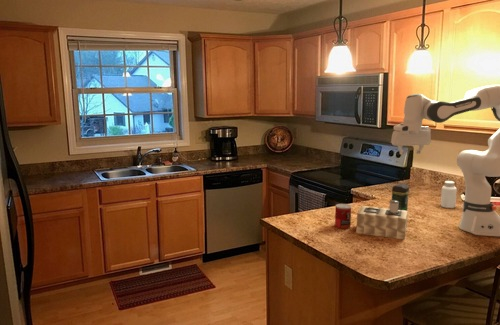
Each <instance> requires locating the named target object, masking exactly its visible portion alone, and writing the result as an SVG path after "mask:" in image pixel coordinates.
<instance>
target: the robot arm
mask: <svg viewBox="0 0 500 325" xmlns="http://www.w3.org/2000/svg"><path fill="white" fill-rule="evenodd" d="M490 108H491V112H492V115H493V116H494V117H495V119H496V120H497V121H499V122H500V84H491V85H485V86H484V85H483V86H481V87H477V88H473V89H471V90H468V91H466V93H465V95H464V98H463V99H458V100H455V101H451V102H447V101H438V100H437V101H436V100H432V99H430V98H428V97H426V96H425V95H423V94H422V93H413V94H409V95H407V96H406V99H405V102H404V108H403V113H404V116H403V120H402V122H401V123H399V124H396V125H394V126H393V131H392V134H391V141H390V142H391V144H392V146H395V147H396V146H397V148H398V151H399V155H405V150H403V149H402V148H403V146H405V147H406V146H418V149H416V154H417V155H418V154H419V155H420V154H421V153H422V150H423V149H424V147H425V145H426V146H427V145H428V146H429V145H430V144H431V141H432V139H431V135H432V134H431V133H432V132H431V131H432V129H431V128H430V127H429V126H423V120H427V121H432V122H434V123H437V124H442V123H445V122H446V121H448V120H449V119H451V118H452V117H455V116H458V115H460V114H461V115H462V114H463V113H468V112H473V111H475V112H476V111H481V110H486V109H490ZM487 145H488V148H487V149H486V150H484V151H480V150H476V149H465V150H462V151H461V152H459V153H458V155H457V157H456V164H457V166H458V167H459V168H460V170H461V172H462V174H463V179H464V184H465V192H464V199H463V203H462V214H461V220H460V221H459V222H460V223H459V225H458V228H459V229H460V230H461V231H464V232H467V233H469V234H473V235H475V236H486V237H487V236H488V237H500V215H499V214H498V213H497V212H496V210H497V206H496V205H495V204H494V203H492V202H491V199H492V186H491V185H490V183H489V182H488V180H487V178H486V177H489V178H491V177H493V178H495V177H496V178H500V127H499V129H497V130H496V131H495V132H494V133H493V134H492V135H491V136H489V138H488V139H487Z"/></svg>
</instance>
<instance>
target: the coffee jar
mask: <svg viewBox="0 0 500 325" xmlns="http://www.w3.org/2000/svg"><path fill="white" fill-rule="evenodd" d="M409 193H410V186H409V185H408V184H405V183H401V182H400V183H398V184H394V185H393V186H392V188H391V200H397V201H399V204H398V210H405V211H408V203H409Z"/></svg>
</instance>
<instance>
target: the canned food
mask: <svg viewBox="0 0 500 325" xmlns="http://www.w3.org/2000/svg"><path fill="white" fill-rule="evenodd" d="M334 210H335V215H334V217H335V218H334V226H335V227H336V228H337V229H341V230H348V229H350V228H351V220H352V205H351V204H348V203H337V204H335V209H334Z"/></svg>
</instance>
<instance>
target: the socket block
mask: <svg viewBox="0 0 500 325" xmlns="http://www.w3.org/2000/svg"><path fill="white" fill-rule="evenodd" d="M408 212H409V211H408V210H407V211H405V210H398V214H390V213H389V208H385V207H375V206H367V205H361V206H360V208H359V210H358V211H357V213H356V227H355V228H356V232H355V233H356V234H361V235H369V236H375V237H383V238H390V239H398V240H405V237H406V234H407V226H408Z"/></svg>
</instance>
